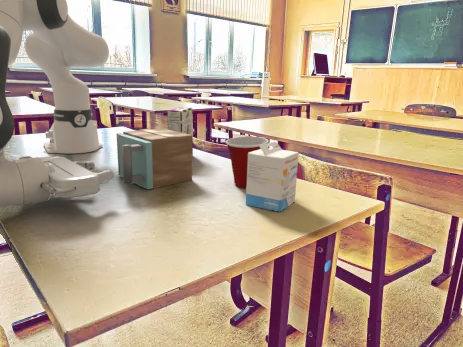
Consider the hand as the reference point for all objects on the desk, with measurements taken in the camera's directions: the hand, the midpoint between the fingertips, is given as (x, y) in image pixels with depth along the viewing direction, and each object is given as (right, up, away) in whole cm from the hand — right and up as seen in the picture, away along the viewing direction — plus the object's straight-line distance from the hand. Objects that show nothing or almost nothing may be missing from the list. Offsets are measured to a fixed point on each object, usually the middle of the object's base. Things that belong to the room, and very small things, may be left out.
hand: (102, 169), depth 80 cm
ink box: (+37, -8, +1) cm, 38 cm away
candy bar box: (+12, +4, +40) cm, 41 cm away
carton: (+9, -2, +17) cm, 19 cm away
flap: (+2, -3, +10) cm, 11 cm away
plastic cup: (+32, -4, +13) cm, 35 cm away
